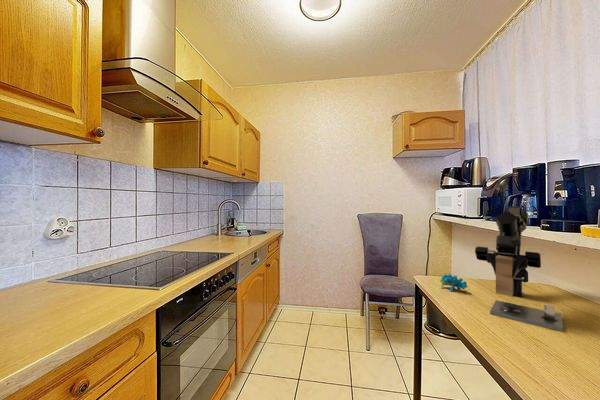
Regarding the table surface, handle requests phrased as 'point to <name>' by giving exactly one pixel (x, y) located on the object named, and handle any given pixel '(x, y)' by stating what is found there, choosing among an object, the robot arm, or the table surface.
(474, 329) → the table surface
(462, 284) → the teal bumpy cluster
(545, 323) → the bolt plate
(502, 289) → the post
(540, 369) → the table surface
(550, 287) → the table surface
